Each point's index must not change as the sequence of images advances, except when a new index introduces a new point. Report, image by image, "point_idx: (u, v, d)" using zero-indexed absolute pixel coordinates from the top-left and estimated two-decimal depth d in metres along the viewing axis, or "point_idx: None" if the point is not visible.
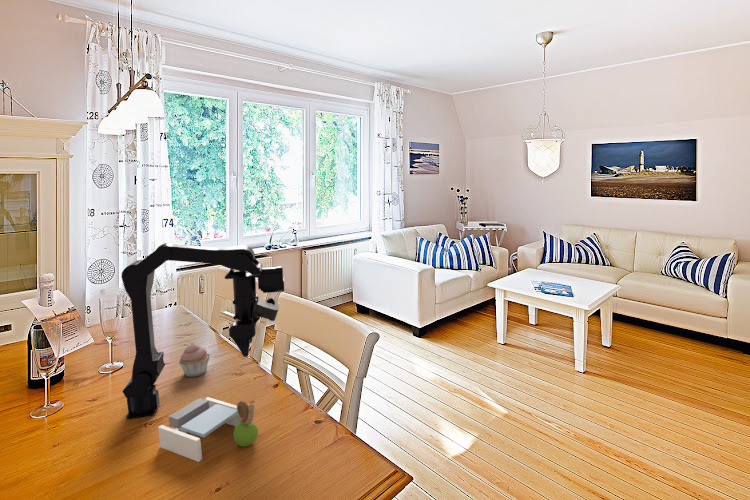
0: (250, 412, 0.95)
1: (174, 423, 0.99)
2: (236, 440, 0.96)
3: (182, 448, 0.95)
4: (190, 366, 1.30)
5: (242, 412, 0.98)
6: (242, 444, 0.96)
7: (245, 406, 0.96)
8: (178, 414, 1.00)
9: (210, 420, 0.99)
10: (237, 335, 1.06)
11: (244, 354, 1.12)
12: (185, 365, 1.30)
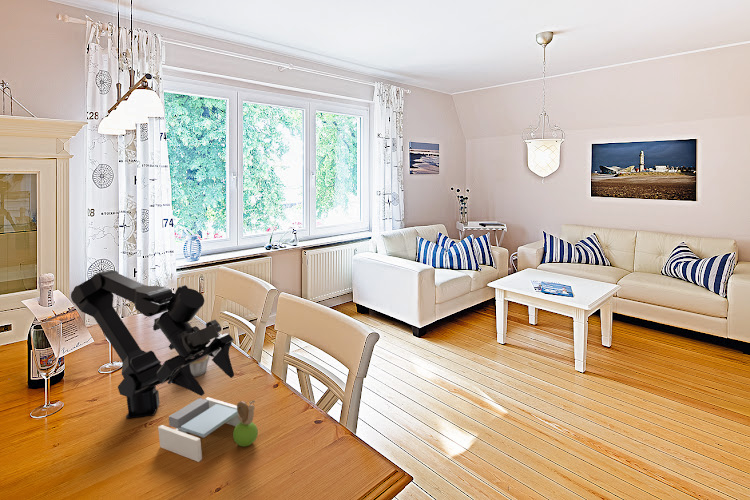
0: (250, 412, 0.95)
1: (174, 423, 0.99)
2: (236, 440, 0.96)
3: (182, 448, 0.95)
4: (190, 366, 1.30)
5: (242, 412, 0.98)
6: (242, 444, 0.96)
7: (245, 406, 0.96)
8: (178, 414, 1.00)
9: (210, 420, 0.99)
10: (163, 378, 0.93)
11: (199, 393, 0.95)
12: None
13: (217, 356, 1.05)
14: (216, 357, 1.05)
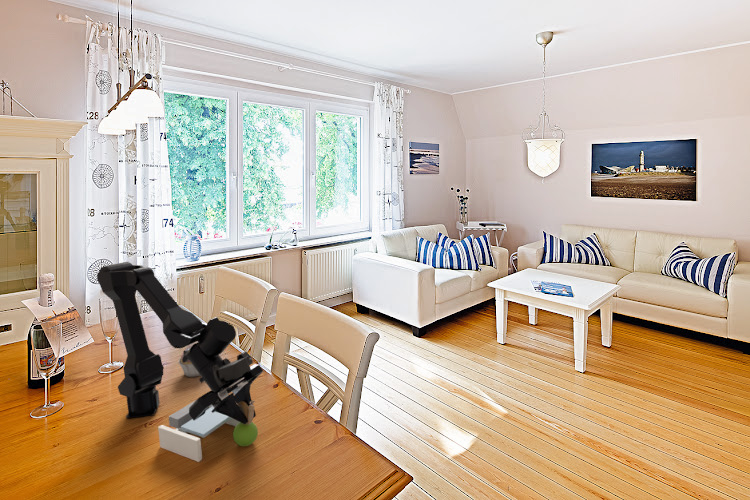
0: (250, 412, 0.95)
1: (174, 423, 0.99)
2: (236, 440, 0.96)
3: (182, 448, 0.95)
4: (190, 366, 1.30)
5: None
6: (242, 444, 0.96)
7: (245, 407, 0.96)
8: (178, 414, 1.00)
9: (210, 420, 0.99)
10: (196, 416, 0.90)
11: (242, 421, 0.96)
12: (185, 365, 1.30)
13: (237, 395, 1.00)
14: (236, 396, 1.00)
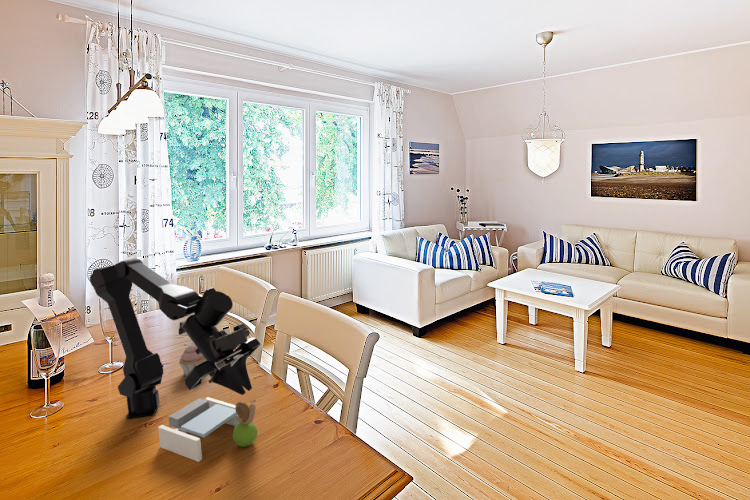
0: (251, 411, 0.95)
1: (174, 423, 0.99)
2: (237, 441, 0.96)
3: (182, 448, 0.95)
4: (190, 366, 1.30)
5: (241, 412, 0.98)
6: (243, 444, 0.96)
7: (245, 406, 0.96)
8: (178, 414, 1.00)
9: (210, 420, 0.99)
10: (191, 385, 0.89)
11: (240, 392, 0.95)
12: (185, 365, 1.30)
13: (233, 367, 0.98)
14: (232, 368, 0.99)
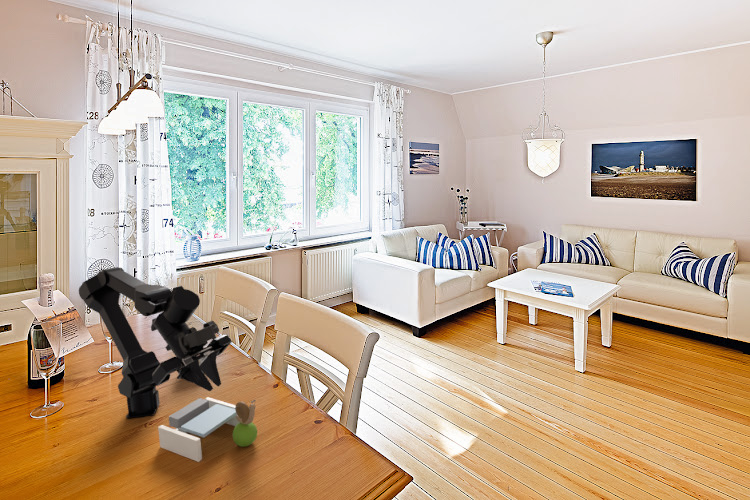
0: (251, 411, 0.95)
1: (174, 423, 0.99)
2: (237, 441, 0.96)
3: (182, 448, 0.95)
4: None
5: (241, 412, 0.98)
6: (243, 444, 0.96)
7: (245, 406, 0.96)
8: (178, 414, 1.00)
9: (210, 420, 0.99)
10: (158, 380, 0.91)
11: (207, 388, 0.96)
12: None
13: (204, 363, 1.00)
14: (203, 364, 1.01)
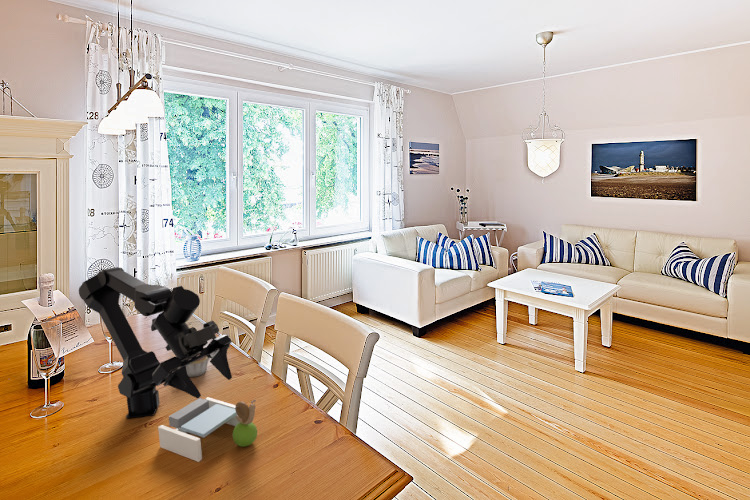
0: (251, 411, 0.95)
1: (174, 423, 0.99)
2: (237, 441, 0.96)
3: (182, 448, 0.95)
4: (190, 366, 1.30)
5: (241, 412, 0.98)
6: (243, 444, 0.96)
7: (245, 406, 0.96)
8: (178, 414, 1.00)
9: (210, 420, 0.99)
10: (158, 380, 0.91)
11: (195, 395, 0.93)
12: None
13: (215, 358, 1.03)
14: (214, 359, 1.04)
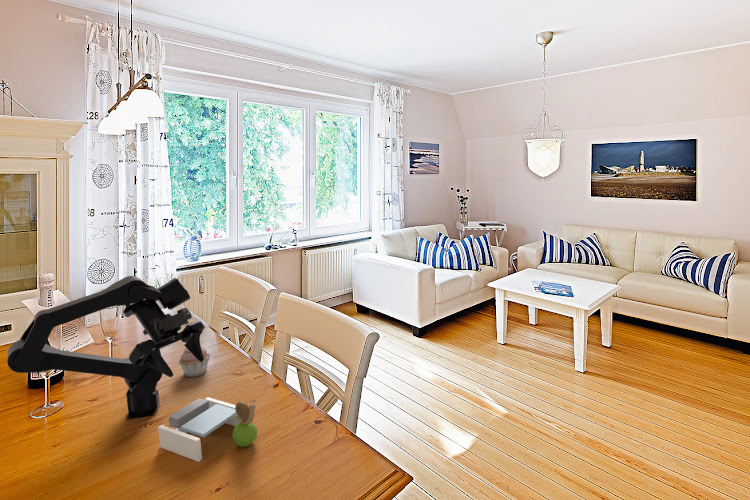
0: (251, 411, 0.95)
1: (174, 423, 0.99)
2: (237, 441, 0.96)
3: (182, 448, 0.95)
4: (190, 366, 1.30)
5: (241, 412, 0.98)
6: (243, 444, 0.96)
7: (245, 406, 0.96)
8: (178, 414, 1.00)
9: (210, 420, 0.99)
10: (134, 360, 1.01)
11: (168, 374, 1.03)
12: (185, 365, 1.30)
13: (189, 342, 1.13)
14: (188, 343, 1.13)
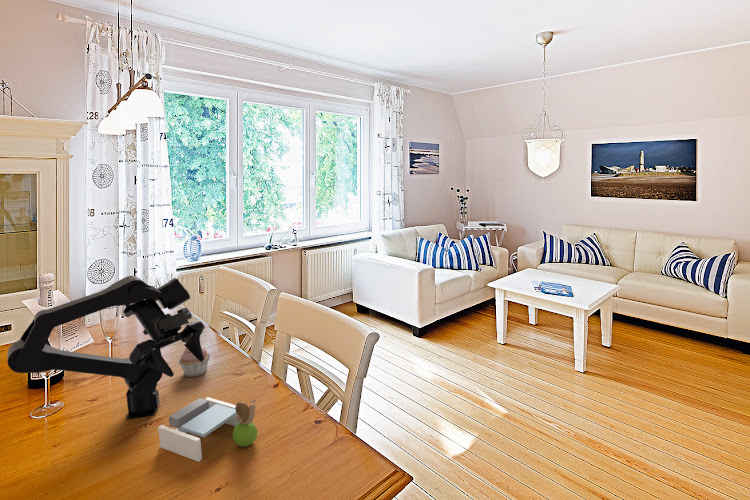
0: (251, 411, 0.95)
1: (174, 423, 0.99)
2: (237, 441, 0.96)
3: (182, 448, 0.95)
4: (190, 366, 1.30)
5: (241, 412, 0.98)
6: (243, 444, 0.96)
7: (245, 406, 0.96)
8: (178, 414, 1.00)
9: (210, 420, 0.99)
10: (135, 360, 1.01)
11: (168, 374, 1.03)
12: (185, 365, 1.30)
13: (189, 342, 1.13)
14: (188, 343, 1.13)
